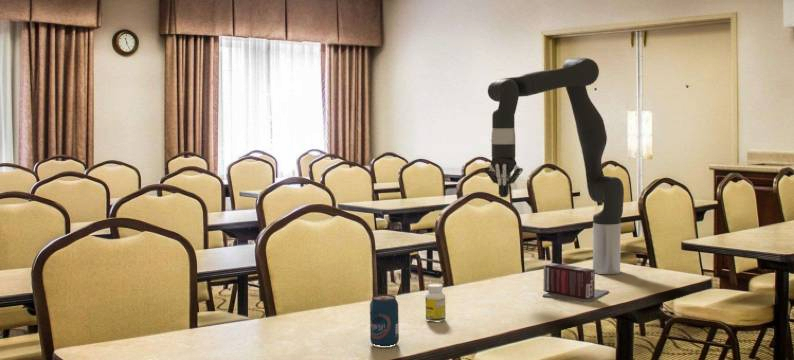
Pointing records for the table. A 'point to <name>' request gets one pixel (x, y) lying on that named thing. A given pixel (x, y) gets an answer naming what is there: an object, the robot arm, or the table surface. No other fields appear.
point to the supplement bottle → (435, 303)
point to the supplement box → (569, 280)
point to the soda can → (384, 320)
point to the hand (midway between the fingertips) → (503, 196)
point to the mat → (596, 295)
